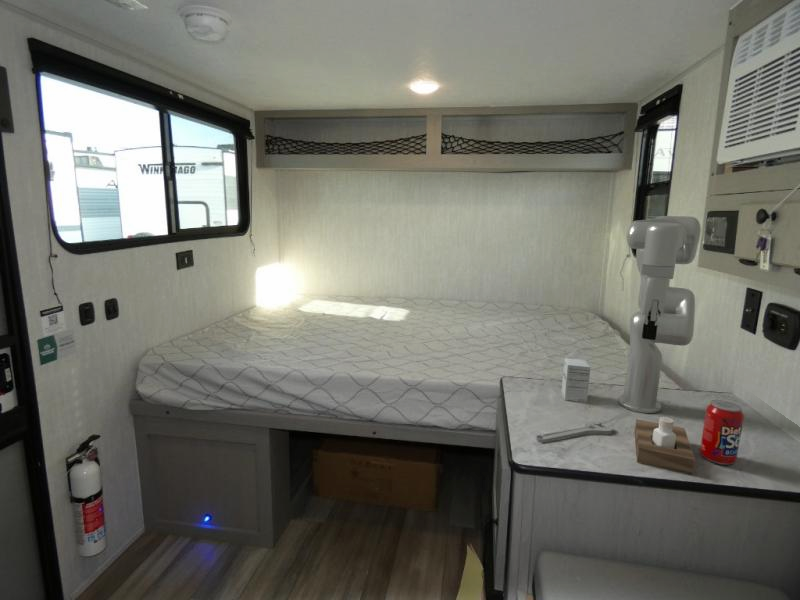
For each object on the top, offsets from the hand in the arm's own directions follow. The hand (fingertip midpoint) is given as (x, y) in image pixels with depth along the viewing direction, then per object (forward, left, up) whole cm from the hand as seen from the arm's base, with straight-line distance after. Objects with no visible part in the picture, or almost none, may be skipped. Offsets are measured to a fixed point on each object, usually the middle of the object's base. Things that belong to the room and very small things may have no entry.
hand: (648, 338), depth 124 cm
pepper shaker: (+9, +6, -28) cm, 30 cm away
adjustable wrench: (+6, -16, -29) cm, 34 cm away
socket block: (+6, +6, -29) cm, 30 cm away
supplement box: (-21, -18, -29) cm, 40 cm away
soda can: (+4, +19, -29) cm, 35 cm away
